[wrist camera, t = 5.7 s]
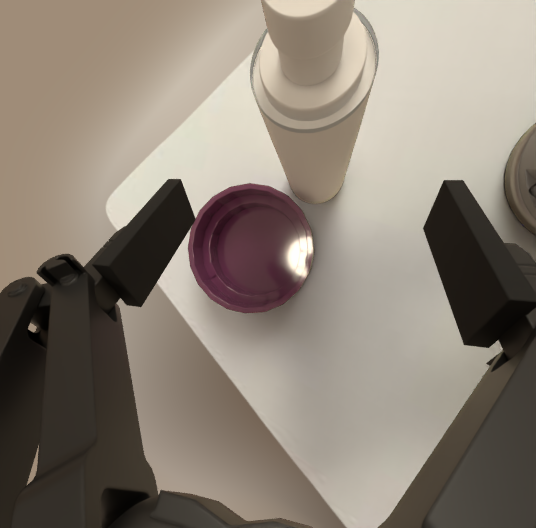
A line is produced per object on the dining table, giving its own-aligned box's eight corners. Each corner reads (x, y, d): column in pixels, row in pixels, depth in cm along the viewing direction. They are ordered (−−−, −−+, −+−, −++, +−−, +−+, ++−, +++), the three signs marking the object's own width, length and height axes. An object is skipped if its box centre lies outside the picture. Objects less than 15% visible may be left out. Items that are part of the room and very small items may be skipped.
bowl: (238, 177, 34) (223, 162, 28) (335, 227, 31) (338, 221, 26) (191, 270, 35) (168, 272, 30) (279, 324, 33) (271, 337, 28)
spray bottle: (279, 173, 33) (156, -82, 8) (322, 138, 31) (331, -283, 7) (310, 214, 32) (277, 72, 7) (355, 180, 31) (493, -121, 6)
